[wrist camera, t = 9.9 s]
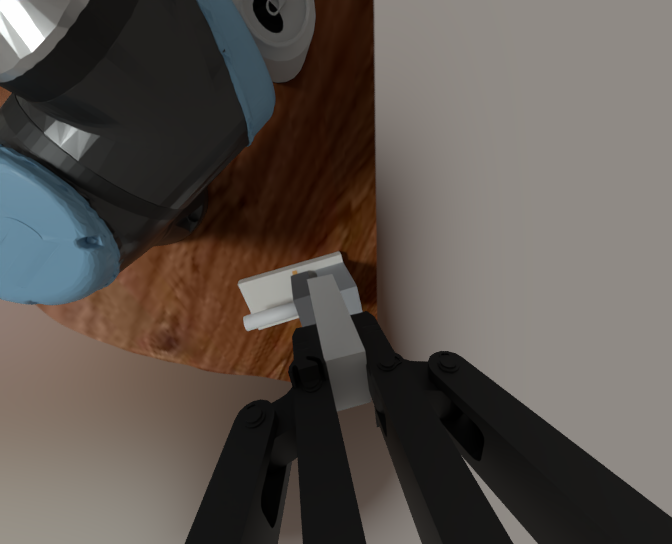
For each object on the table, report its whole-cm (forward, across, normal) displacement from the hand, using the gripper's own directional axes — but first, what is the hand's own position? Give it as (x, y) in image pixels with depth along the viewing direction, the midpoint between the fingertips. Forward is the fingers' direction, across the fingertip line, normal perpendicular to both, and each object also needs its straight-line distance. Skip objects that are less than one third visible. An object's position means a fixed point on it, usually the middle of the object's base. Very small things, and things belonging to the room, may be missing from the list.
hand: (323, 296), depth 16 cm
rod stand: (+29, -3, -15) cm, 33 cm away
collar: (+27, -2, -15) cm, 31 cm away
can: (+29, +2, +20) cm, 35 cm away
